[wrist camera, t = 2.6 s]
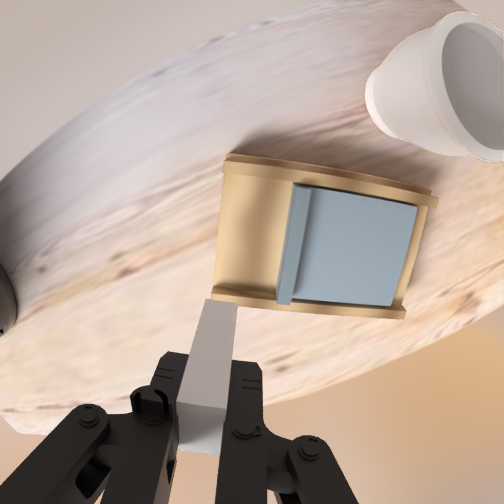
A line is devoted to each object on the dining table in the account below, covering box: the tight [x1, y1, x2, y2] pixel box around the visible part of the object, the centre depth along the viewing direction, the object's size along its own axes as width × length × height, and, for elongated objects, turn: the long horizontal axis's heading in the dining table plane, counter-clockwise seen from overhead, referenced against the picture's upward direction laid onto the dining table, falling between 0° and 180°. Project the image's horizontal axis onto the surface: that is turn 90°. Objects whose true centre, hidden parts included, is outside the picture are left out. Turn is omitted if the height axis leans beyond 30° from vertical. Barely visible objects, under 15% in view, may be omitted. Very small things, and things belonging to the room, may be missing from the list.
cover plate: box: [275, 183, 418, 306], centre depth 28 cm, size 12×10×3 cm
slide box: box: [211, 153, 438, 319], centre depth 30 cm, size 20×14×5 cm
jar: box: [365, 11, 504, 162], centre depth 20 cm, size 11×10×15 cm
